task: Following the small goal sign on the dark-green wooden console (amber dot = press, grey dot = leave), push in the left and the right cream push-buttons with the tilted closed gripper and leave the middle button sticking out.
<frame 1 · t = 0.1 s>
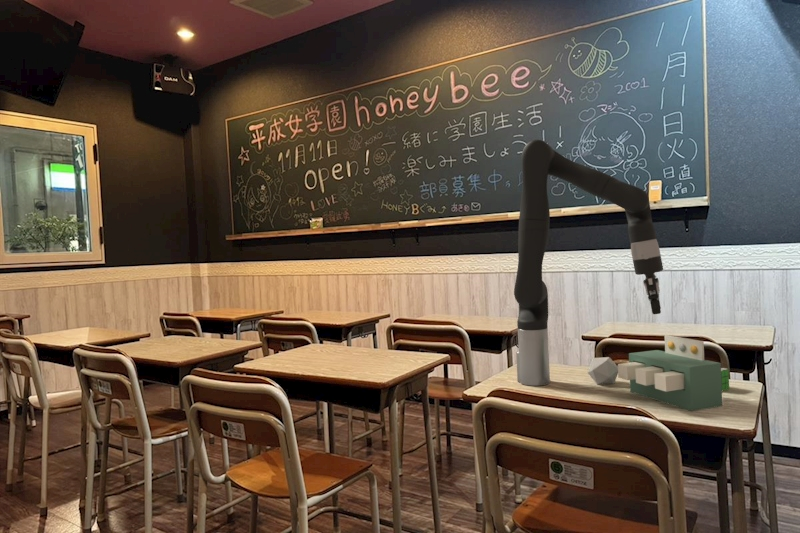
hand: (656, 311, 162), 22 cm above the table, tool pointing down, fingers open, 8 cm apart
button left: (631, 370, 156), point 7 cm above the table, slide at 0.0 cm
console: (673, 398, 152), on the table
button right: (669, 381, 143), point 7 cm above the table, slide at 0.0 cm
button mid: (649, 375, 150), point 7 cm above the table, slide at 0.0 cm
puzzle toy: (713, 389, 160), on the table
die: (603, 383, 172), on the table
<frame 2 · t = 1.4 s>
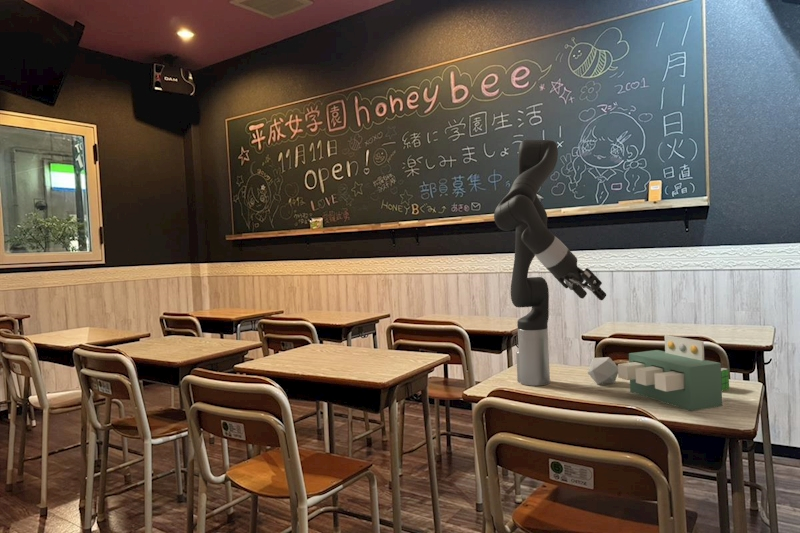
hand: (593, 296, 151), 29 cm above the table, tool tilted 45°, fingers open, 7 cm apart
nothing on the table moved.
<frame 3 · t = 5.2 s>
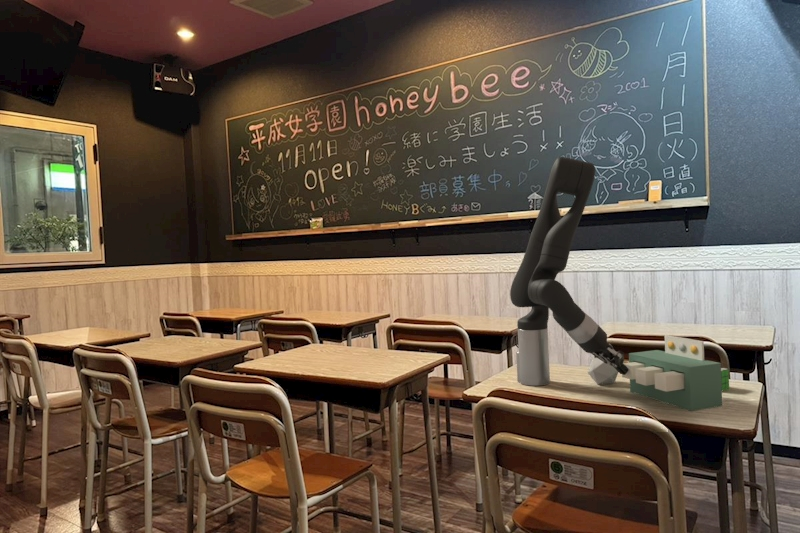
hand: (624, 371, 156), 7 cm above the table, tool tilted 45°, fingers closed
button left: (635, 370, 157), point 7 cm above the table, slide at 1.3 cm, touching gripper
everything else where it was.
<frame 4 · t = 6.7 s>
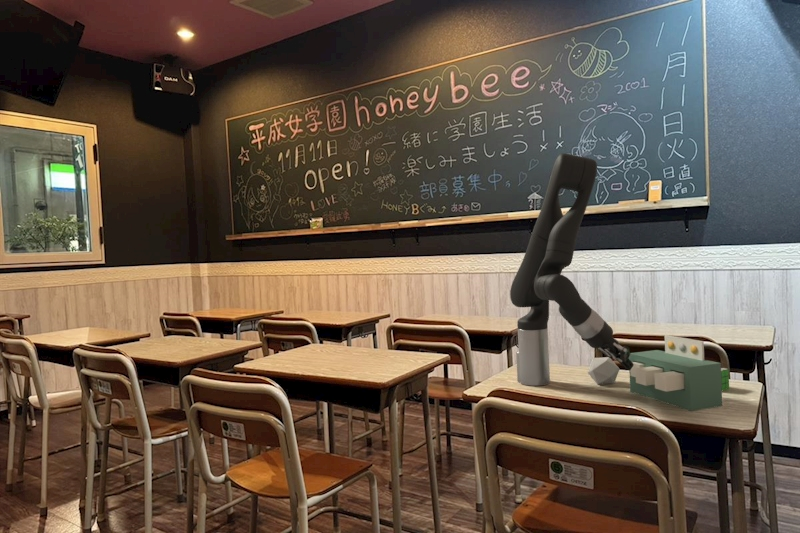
hand: (630, 367, 156), 8 cm above the table, tool tilted 45°, fingers closed
button left: (643, 369, 158), point 7 cm above the table, slide at 4.1 cm
everything else where it was.
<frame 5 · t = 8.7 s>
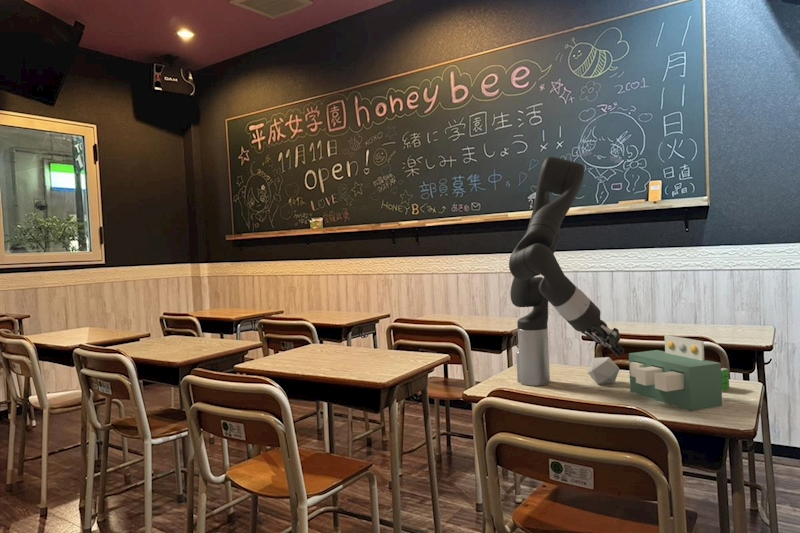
hand: (620, 353, 138), 16 cm above the table, tool tilted 45°, fingers closed
nothing on the table moved.
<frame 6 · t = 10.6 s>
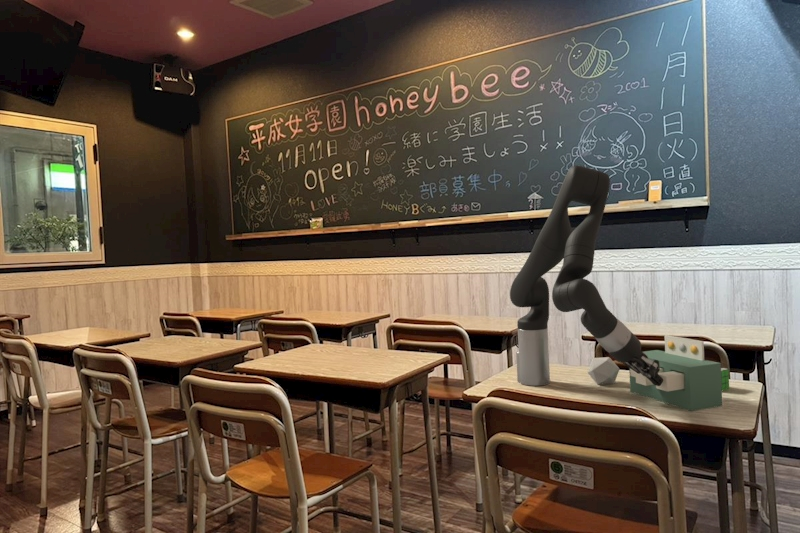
hand: (659, 382, 142), 7 cm above the table, tool tilted 45°, fingers closed
button right: (670, 381, 143), point 7 cm above the table, slide at 0.3 cm, touching gripper
everything else where it was.
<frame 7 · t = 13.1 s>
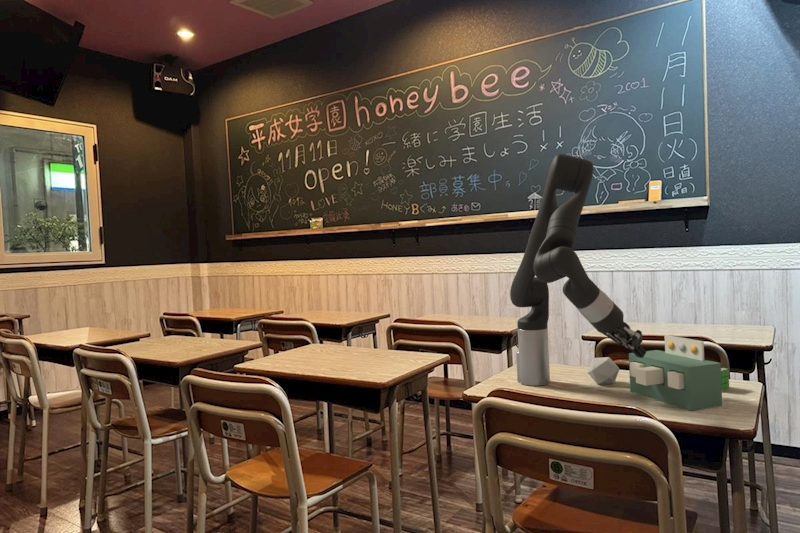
hand: (642, 354, 140), 15 cm above the table, tool tilted 45°, fingers closed
button right: (682, 379, 144), point 7 cm above the table, slide at 4.1 cm
everything else where it was.
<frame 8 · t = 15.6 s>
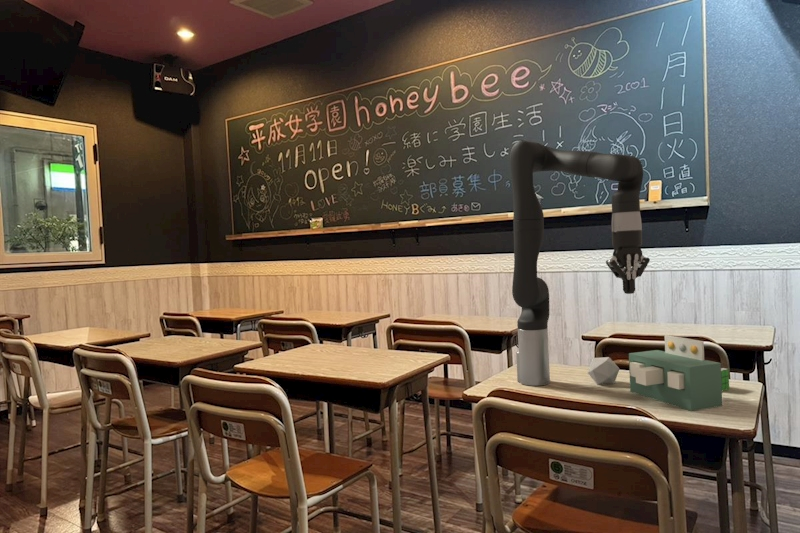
hand: (629, 293, 152), 29 cm above the table, tool pointing down, fingers closed
nothing on the table moved.
at the end: button left slide at 4.1 cm; button right slide at 4.1 cm; button mid slide at 0.0 cm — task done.
